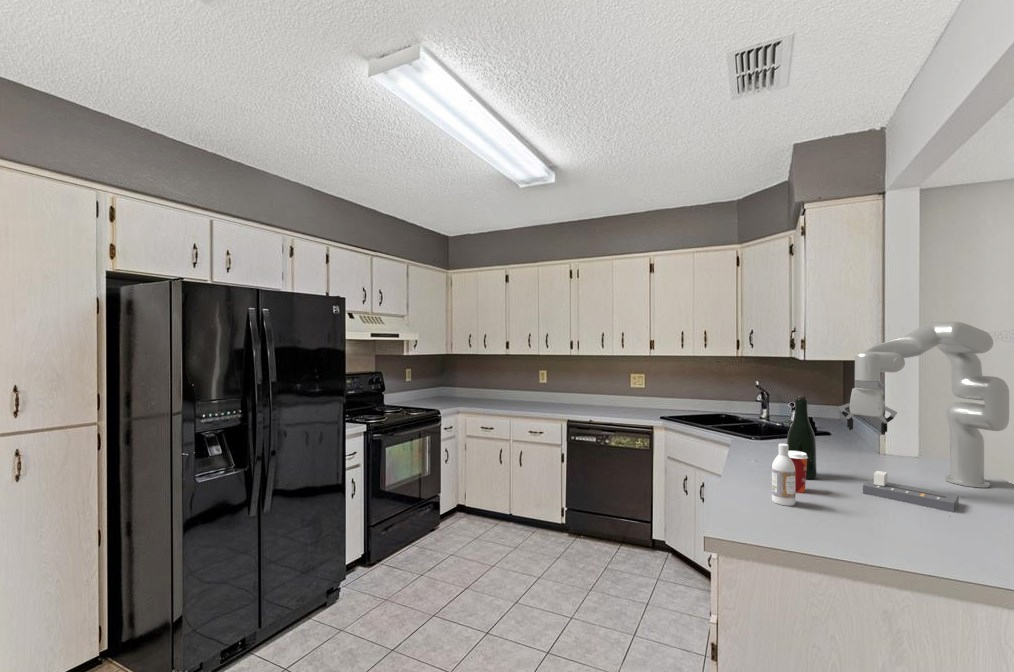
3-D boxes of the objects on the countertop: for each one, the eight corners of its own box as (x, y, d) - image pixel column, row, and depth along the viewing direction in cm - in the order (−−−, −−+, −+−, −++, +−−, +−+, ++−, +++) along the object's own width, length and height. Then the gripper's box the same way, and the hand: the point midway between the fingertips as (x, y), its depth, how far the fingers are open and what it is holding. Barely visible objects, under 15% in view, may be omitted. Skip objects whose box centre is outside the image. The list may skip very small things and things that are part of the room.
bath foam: (783, 507, 154) (783, 447, 155) (767, 500, 161) (767, 442, 161) (800, 505, 156) (800, 446, 156) (783, 498, 163) (783, 441, 163)
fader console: (871, 486, 176) (871, 478, 176) (958, 504, 158) (958, 494, 158) (862, 493, 168) (862, 484, 168) (953, 512, 150) (953, 502, 150)
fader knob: (877, 481, 172) (877, 470, 172) (887, 483, 170) (887, 472, 170) (873, 484, 169) (873, 473, 169) (884, 486, 167) (884, 475, 167)
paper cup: (811, 494, 167) (811, 455, 167) (788, 493, 169) (788, 454, 169) (802, 487, 175) (802, 450, 175) (780, 486, 176) (780, 449, 176)
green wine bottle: (799, 471, 196) (799, 393, 197) (822, 478, 186) (822, 396, 187) (780, 473, 193) (780, 394, 193) (803, 481, 183) (803, 397, 183)
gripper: (899, 387, 168) (898, 434, 168) (841, 383, 181) (841, 426, 181) (895, 388, 163) (894, 436, 163) (836, 384, 176) (836, 429, 176)
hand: (866, 431), depth 172 cm, fingers open, 9 cm apart
